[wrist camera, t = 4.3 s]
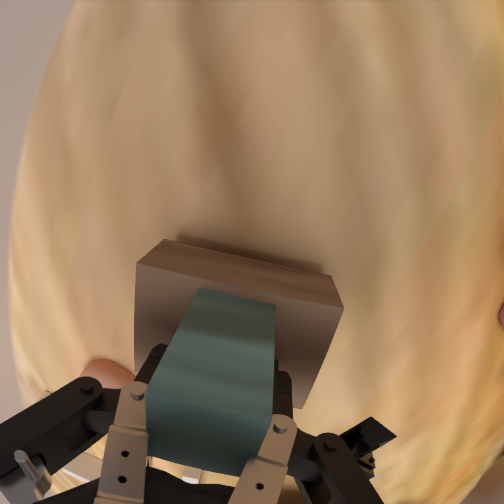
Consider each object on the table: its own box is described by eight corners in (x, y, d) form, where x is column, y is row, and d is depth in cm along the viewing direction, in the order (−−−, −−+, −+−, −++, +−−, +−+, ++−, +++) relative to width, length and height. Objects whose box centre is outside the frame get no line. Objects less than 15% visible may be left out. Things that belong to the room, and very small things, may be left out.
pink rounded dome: (83, 349, 24) (67, 368, 21) (143, 370, 24) (131, 393, 21) (90, 393, 26) (77, 413, 23) (144, 413, 26) (134, 435, 23)
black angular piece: (317, 478, 28) (319, 509, 24) (275, 457, 27) (274, 492, 23) (411, 427, 25) (423, 459, 21) (378, 398, 24) (390, 436, 19)
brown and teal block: (164, 239, 18) (50, 343, 8) (331, 275, 18) (382, 419, 8) (156, 335, 20) (84, 460, 10) (299, 367, 20) (306, 512, 10)
